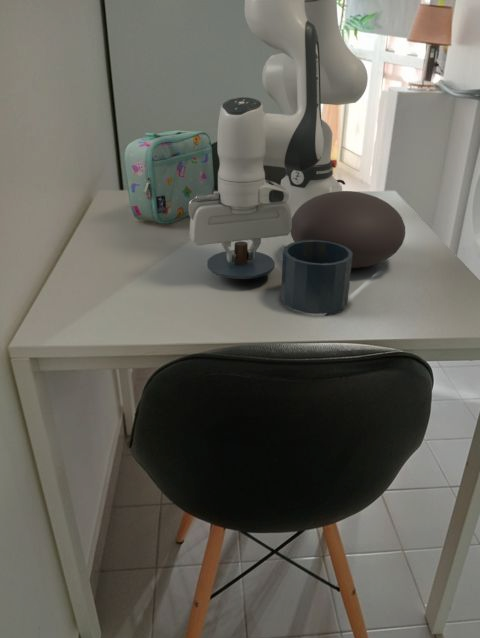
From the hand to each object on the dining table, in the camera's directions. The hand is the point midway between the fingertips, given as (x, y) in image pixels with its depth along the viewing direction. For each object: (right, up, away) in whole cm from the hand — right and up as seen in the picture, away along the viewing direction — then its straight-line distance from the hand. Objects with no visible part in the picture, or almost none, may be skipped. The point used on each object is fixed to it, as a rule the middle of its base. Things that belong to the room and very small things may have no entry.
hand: (241, 260), depth 122 cm
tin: (+14, -9, -6) cm, 18 cm away
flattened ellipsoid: (+22, +1, +13) cm, 26 cm away
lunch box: (-19, +17, +38) cm, 46 cm away
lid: (0, -1, +1) cm, 1 cm away
